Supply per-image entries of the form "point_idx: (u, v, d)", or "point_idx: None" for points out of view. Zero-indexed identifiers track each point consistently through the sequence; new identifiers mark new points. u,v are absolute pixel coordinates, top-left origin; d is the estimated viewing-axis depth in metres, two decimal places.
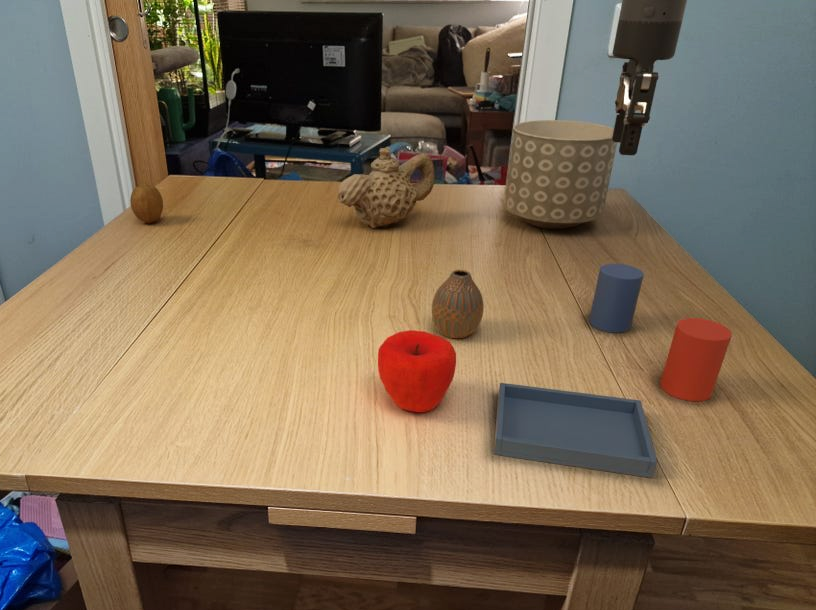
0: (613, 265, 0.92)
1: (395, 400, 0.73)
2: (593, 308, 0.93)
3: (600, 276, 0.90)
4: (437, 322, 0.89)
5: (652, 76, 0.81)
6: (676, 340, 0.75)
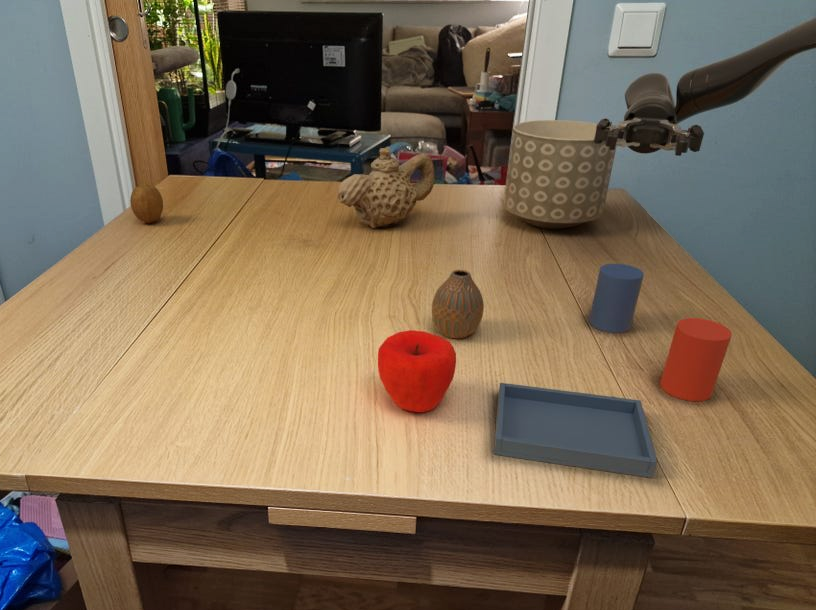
0: (613, 265, 0.92)
1: (395, 400, 0.73)
2: (593, 308, 0.93)
3: (600, 276, 0.90)
4: (437, 322, 0.89)
5: None
6: (676, 340, 0.75)
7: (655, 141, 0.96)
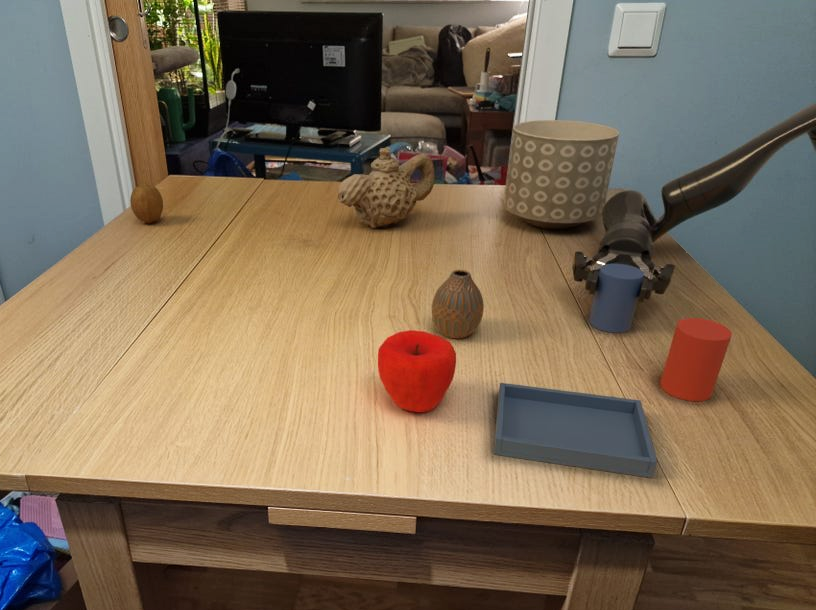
0: (613, 265, 0.92)
1: (395, 400, 0.73)
2: (593, 308, 0.93)
3: (600, 276, 0.90)
4: (437, 322, 0.89)
5: (671, 278, 0.94)
6: (676, 340, 0.75)
7: None
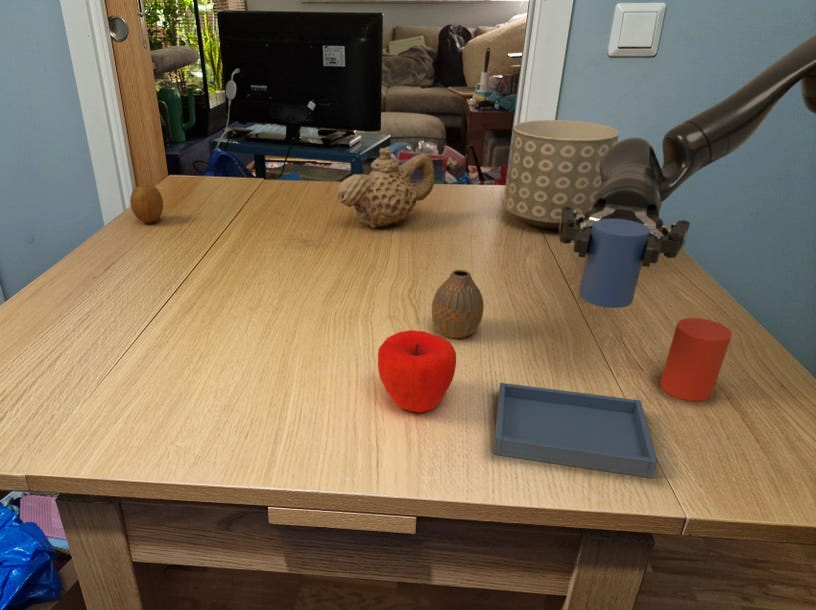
0: (610, 220, 0.71)
1: (395, 400, 0.73)
2: (584, 276, 0.72)
3: (593, 234, 0.69)
4: (437, 322, 0.89)
5: (685, 238, 0.73)
6: (676, 340, 0.75)
7: None
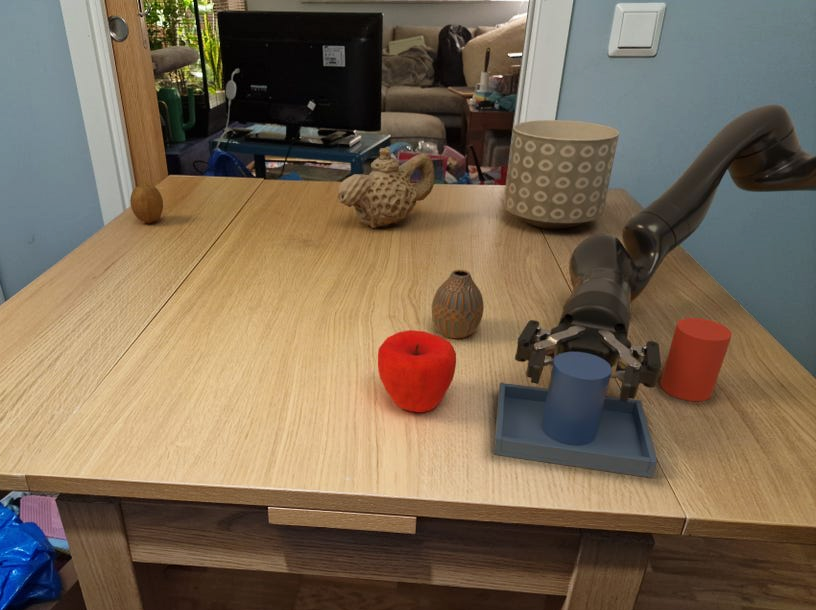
0: (572, 355, 0.69)
1: (395, 400, 0.73)
2: (546, 411, 0.69)
3: (554, 372, 0.67)
4: (437, 322, 0.89)
5: None
6: (676, 340, 0.75)
7: None
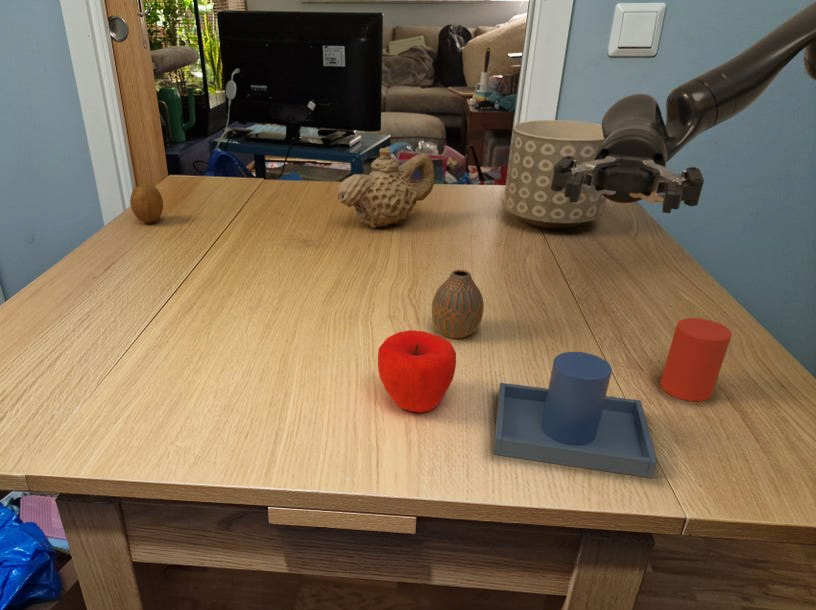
0: (572, 355, 0.69)
1: (395, 400, 0.73)
2: (546, 411, 0.69)
3: (554, 372, 0.67)
4: (437, 322, 0.89)
5: None
6: (676, 340, 0.75)
7: (635, 189, 0.69)
